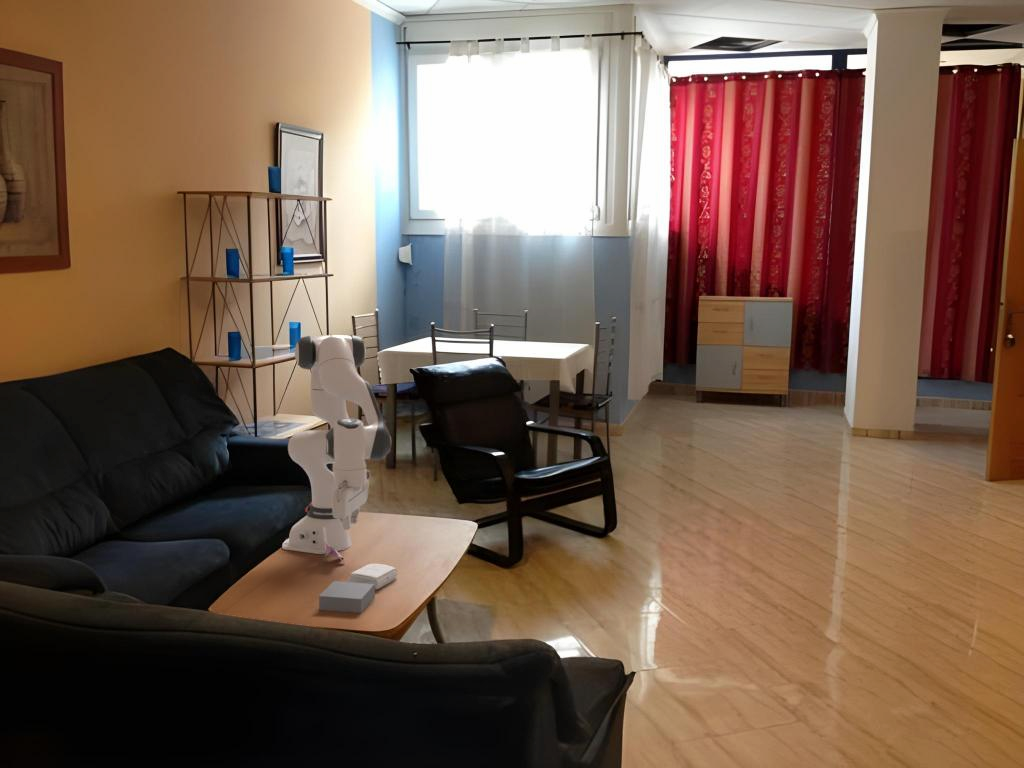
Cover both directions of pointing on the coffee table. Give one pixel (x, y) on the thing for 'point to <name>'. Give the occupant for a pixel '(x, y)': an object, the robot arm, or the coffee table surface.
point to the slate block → (347, 597)
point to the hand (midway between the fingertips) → (350, 525)
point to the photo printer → (374, 575)
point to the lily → (331, 551)
